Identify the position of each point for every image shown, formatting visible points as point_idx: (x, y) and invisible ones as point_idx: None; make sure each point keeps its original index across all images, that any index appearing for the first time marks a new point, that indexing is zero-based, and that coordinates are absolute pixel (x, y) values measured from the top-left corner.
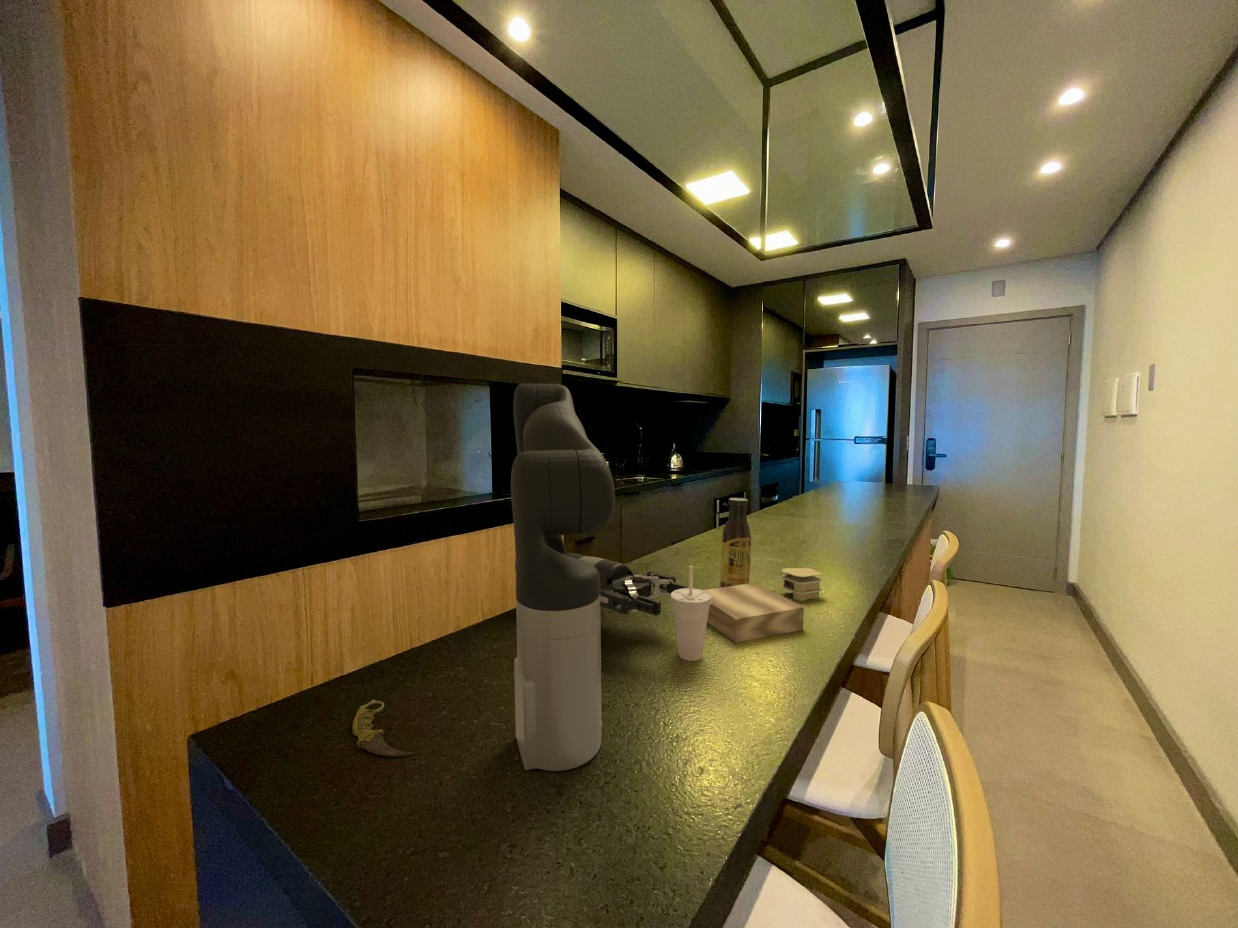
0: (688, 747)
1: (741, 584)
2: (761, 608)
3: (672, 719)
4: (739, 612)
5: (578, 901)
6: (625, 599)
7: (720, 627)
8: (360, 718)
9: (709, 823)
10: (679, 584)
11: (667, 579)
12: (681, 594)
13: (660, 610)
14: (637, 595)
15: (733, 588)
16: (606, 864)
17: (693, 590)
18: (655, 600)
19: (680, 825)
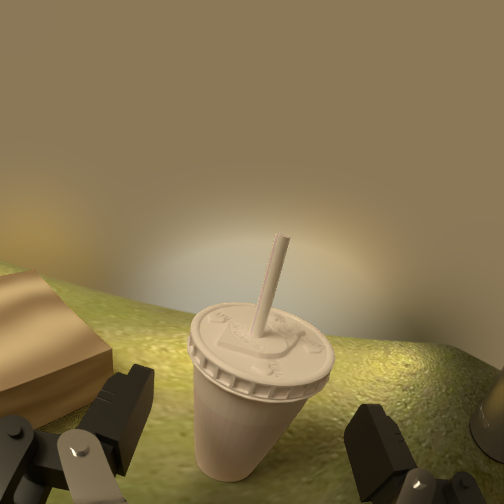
0: (402, 379)
1: None
2: (40, 308)
3: (395, 403)
4: (67, 340)
5: (487, 366)
6: (464, 473)
7: (62, 408)
8: None
9: (423, 351)
10: (120, 400)
11: (62, 459)
12: (282, 356)
13: (350, 422)
14: (412, 476)
15: None
16: (476, 368)
17: (229, 330)
18: (375, 413)
19: (438, 358)
